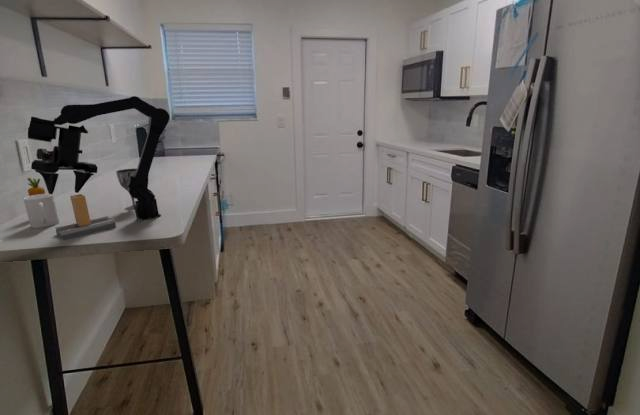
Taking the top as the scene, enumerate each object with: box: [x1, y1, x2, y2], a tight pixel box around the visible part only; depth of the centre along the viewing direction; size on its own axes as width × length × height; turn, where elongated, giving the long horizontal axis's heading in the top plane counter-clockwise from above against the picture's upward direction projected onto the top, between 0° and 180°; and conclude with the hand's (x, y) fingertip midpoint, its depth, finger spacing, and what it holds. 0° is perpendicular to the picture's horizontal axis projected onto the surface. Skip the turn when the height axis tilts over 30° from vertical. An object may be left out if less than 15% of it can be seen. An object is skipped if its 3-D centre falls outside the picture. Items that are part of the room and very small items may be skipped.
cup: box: [22, 193, 60, 229], centre depth 127 cm, size 8×12×10 cm
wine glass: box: [115, 168, 137, 211], centre depth 145 cm, size 8×8×15 cm
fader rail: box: [55, 215, 117, 241], centre depth 121 cm, size 15×8×3 cm, turn 137°
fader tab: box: [69, 193, 92, 228], centre depth 119 cm, size 4×5×10 cm
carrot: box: [27, 177, 46, 196], centre depth 138 cm, size 5×5×15 cm
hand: (64, 193), depth 119 cm, fingers open, 9 cm apart
